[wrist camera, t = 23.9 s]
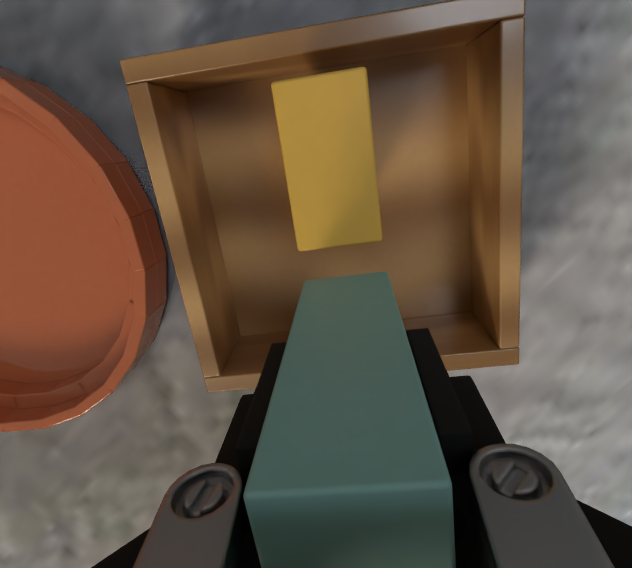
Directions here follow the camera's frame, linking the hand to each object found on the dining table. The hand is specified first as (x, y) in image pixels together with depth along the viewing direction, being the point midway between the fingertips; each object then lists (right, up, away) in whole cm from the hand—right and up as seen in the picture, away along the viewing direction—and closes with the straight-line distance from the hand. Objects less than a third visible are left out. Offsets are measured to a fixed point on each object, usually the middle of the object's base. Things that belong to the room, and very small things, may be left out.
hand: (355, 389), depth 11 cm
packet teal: (0, +1, +2) cm, 3 cm away
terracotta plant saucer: (-18, +4, +11) cm, 21 cm away
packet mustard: (0, +9, +8) cm, 12 cm away
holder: (0, +6, +10) cm, 12 cm away
